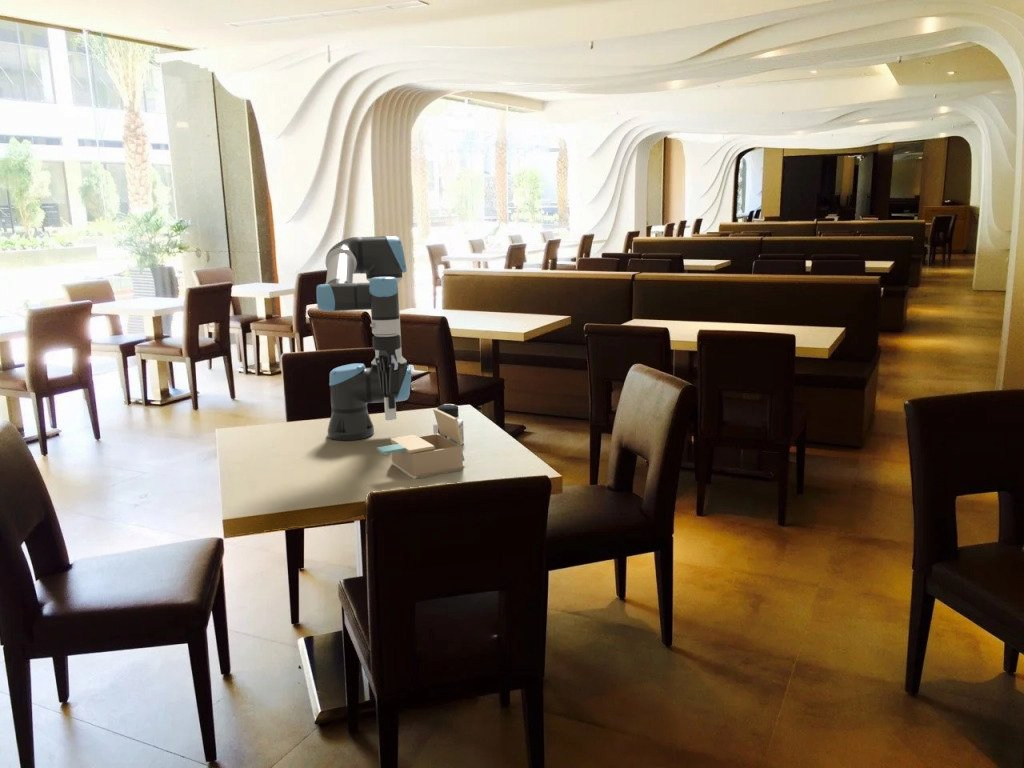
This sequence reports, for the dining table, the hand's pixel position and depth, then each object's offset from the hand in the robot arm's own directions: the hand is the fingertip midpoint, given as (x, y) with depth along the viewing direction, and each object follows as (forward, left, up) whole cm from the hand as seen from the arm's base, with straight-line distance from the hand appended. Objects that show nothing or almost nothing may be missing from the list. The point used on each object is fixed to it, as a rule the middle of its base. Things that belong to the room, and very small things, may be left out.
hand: (390, 419), depth 226 cm
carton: (-2, +11, -16) cm, 20 cm away
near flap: (-2, +3, -9) cm, 9 cm away
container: (-19, +26, -17) cm, 36 cm away
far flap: (-2, +19, -9) cm, 21 cm away
